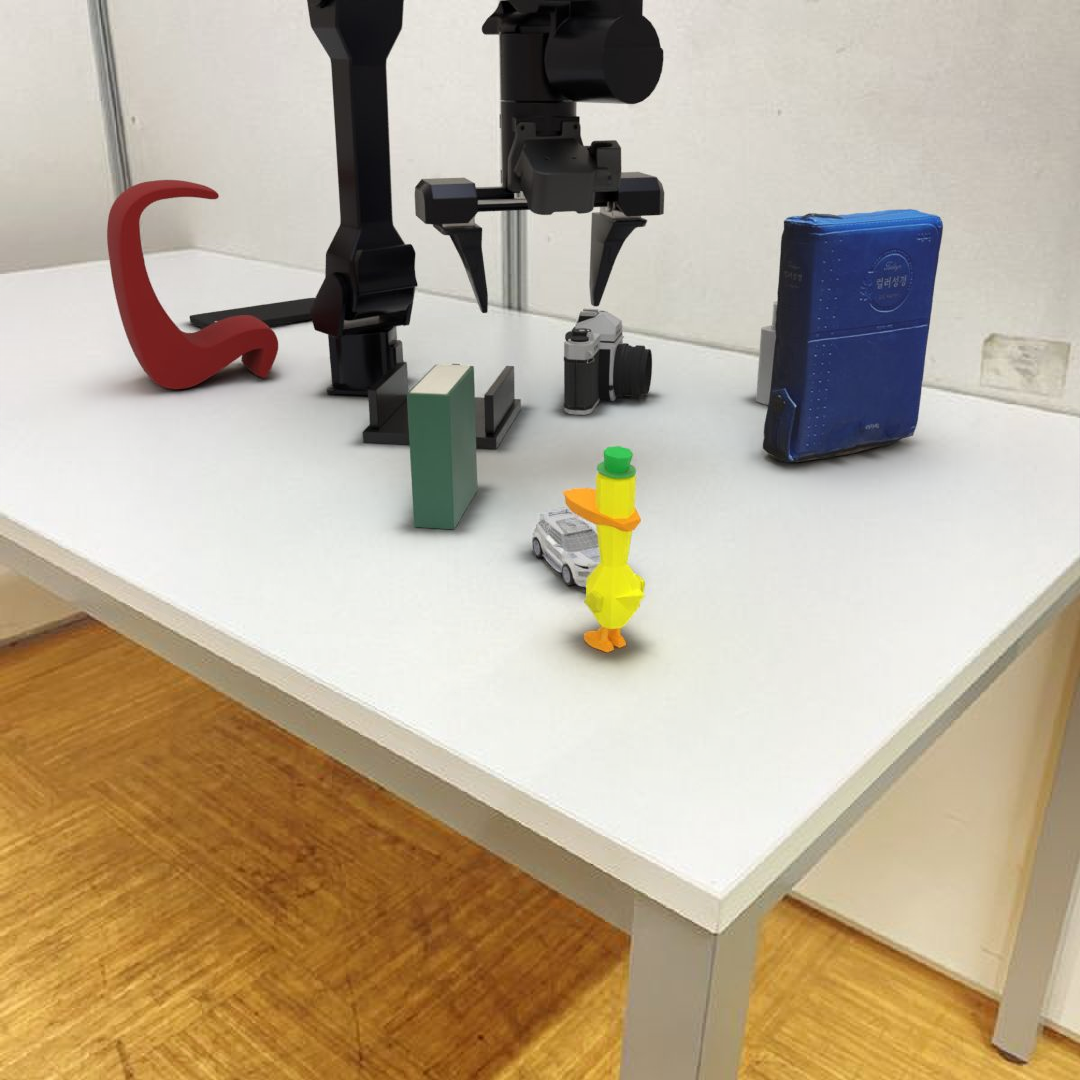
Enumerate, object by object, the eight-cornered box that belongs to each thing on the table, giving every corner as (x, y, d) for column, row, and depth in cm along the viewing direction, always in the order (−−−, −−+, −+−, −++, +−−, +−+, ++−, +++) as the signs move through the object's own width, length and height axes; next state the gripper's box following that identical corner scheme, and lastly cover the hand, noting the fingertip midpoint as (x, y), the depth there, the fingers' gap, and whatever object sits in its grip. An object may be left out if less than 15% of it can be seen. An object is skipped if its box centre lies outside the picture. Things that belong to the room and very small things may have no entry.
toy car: (576, 596, 71) (577, 552, 70) (526, 549, 78) (526, 509, 77) (628, 585, 73) (629, 542, 72) (574, 540, 79) (574, 500, 78)
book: (790, 473, 92) (812, 220, 84) (749, 454, 96) (768, 211, 88) (921, 446, 98) (954, 207, 90) (878, 429, 102) (906, 200, 94)
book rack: (363, 442, 100) (359, 393, 98) (400, 403, 110) (397, 358, 109) (496, 449, 98) (495, 398, 96) (520, 409, 109) (520, 363, 107)
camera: (639, 420, 105) (645, 323, 102) (557, 414, 107) (560, 318, 104) (654, 392, 117) (659, 305, 114) (580, 387, 119) (583, 301, 116)
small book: (413, 527, 82) (406, 392, 78) (440, 488, 89) (435, 363, 85) (454, 529, 81) (448, 394, 77) (477, 490, 89) (473, 364, 85)
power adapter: (752, 400, 111) (761, 277, 106) (789, 390, 114) (799, 270, 109) (776, 407, 109) (786, 281, 104) (813, 397, 112) (825, 275, 107)
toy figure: (543, 628, 67) (543, 437, 63) (589, 611, 69) (592, 424, 65) (619, 673, 62) (625, 469, 58) (666, 653, 64) (675, 455, 60)
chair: (138, 396, 113) (107, 189, 105) (126, 379, 119) (94, 181, 111) (283, 377, 120) (264, 180, 112) (264, 361, 125) (244, 173, 117)
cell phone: (348, 314, 147) (347, 307, 147) (217, 335, 137) (216, 327, 136) (315, 303, 153) (314, 296, 153) (188, 322, 143) (187, 315, 143)
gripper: (432, 107, 75) (442, 338, 82) (694, 102, 80) (685, 323, 86) (408, 101, 85) (419, 308, 92) (643, 97, 89) (637, 295, 96)
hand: (540, 308), depth 91 cm, fingers open, 9 cm apart
